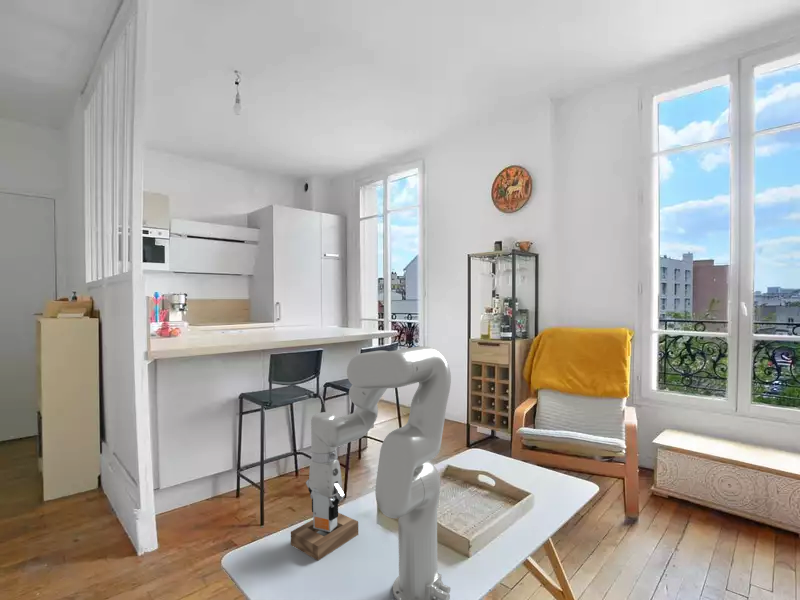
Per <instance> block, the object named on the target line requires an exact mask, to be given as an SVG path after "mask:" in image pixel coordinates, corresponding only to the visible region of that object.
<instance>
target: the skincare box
mask: <svg viewBox="0 0 800 600" xmlns="http://www.w3.org/2000/svg"><path fill="white" fill-rule="evenodd" d="M332 494H334V492H333V493H332ZM332 499H333V501H334V500H335V499H334V497H332ZM329 507H330V503H329V500H328V497H326V496H323V495H321V494H320V493H319V491H318V490H317V489H313V512H312V516H313V517H312V520H313V528H314V529H319V530H323V531H327V532H331V531H332V530H333V529H334V528H335V527H336V526H337V518H335V519H333V520H331V521H330V520H329Z"/></svg>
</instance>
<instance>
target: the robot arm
mask: <svg viewBox="0 0 800 600" xmlns="http://www.w3.org/2000/svg"><path fill="white" fill-rule="evenodd" d="M346 375H347V379H348V381H349V383H350V384H351V386H350V387H349V389H348V397H349V398H350V399H349V400H350V401H351V402H352V403H353V405H355V406H356V408H355V410H354V411H353V412H352V413H350V414H346V415H342V416H339V417H337V416H336V414H335V413H333V412H328V411H323V412H318V413H315V414H313V415H312V417H311V419H310V432H311V433H310V436H311V437H310V438H311V439H310V441H311V444H310V445H311V447H310V449H311V450H310V451H311V453H310V454H311V459H310V463H309V471H308V479H307V480H306V481H305V485H306V487H307V489H308V492H309V494H310V495H309V496H310V497H309V498H310V499H311V512H312V513H313V489H317V490H318V491H319V493H320V494H321V495H323V496H326V497H328V500H329V503H330V507H329V520H330V521H331V520H333V519H335V518H337V517H338V513H339V504H340V503H341V502H343V500H344V498H345V496H346V495H345V493H344V491H343V481H342V480H343V479H342V470H341V465H340V461H339V460H340V459H338V457H339V456H338V447H341V446H343V445H347V444H348V443H351V442H355V441H357V440H359V439H362V438H363V437H364V436H365V435H366V434H367V433H369V431H370V430H371V428H373V425H374V424H375V422H376V421H377V418H378V413H379V405H378V404H379V401H380V400H381V399H382V397H383V395H384V394H385V392H386V391H387V389H396V388H401V387H406V386H411V385H412V384H417V383H418V387H417V389H416V390H415V393H414V395H413V397H412V400H411V403H410V407H409V409H410V411H409V414H408V415H409V416H408V421H407V423H406V424H405V425H404V426H401V427H398V428H397V429H394V430H392V431H391V432H389V433H388V434H387V435H386V436H385V438H384V440H383V442H382V444H381V446H380V450H379V457H378V464H377V465H378V466H377V472H376V480H375V481H376V482H375V489H374V490H375V492H374V493H375V501H376V503H377V507H378V509H379V510H380V512H381V513H382V514H383V516H385V517H388V518H391V519H398V527H397V528H398V532H397V533H398V534H397V535H398V540H397V541H398V576H397V577H396V578H395V580H394V581H393V585H392V593H393V597H394V598H395V600H451V595H450V593H451V587H450V586H448V585H446V584H445V583H444V582H443V581H442V574H441V573H439V572H438V507H439V499H440V493H441V477H440V473H439V471H438V469H437V467H436V465H434V464H433V463H432V462H430V461H432V460H434V459H435V458H436V457H437V456H438V455H439V453H440V451H441V447H442V439H443V433H444V426H445V421H446V420H445V419H446V411H447V405H448V400H449V396H450V390H451V386H452V374H451V369H450V366H449V364H448V361H447V360H446V358H445V357H444V355H443V354H442V353H441V352H440V351H438V350H437V349H436V348H434V347H430V346H424V345H423V346H413V347H408V348H403V349H396V350H389V351H388V350H375V351H374V350H373V351H367V352H362V353H357V354H356V355H354V356H352V358H350V360H349V362H348V364H347V368H346ZM333 492H334V494H332V493H333ZM332 497H334V499H335V500H334V501H333V499H332Z"/></svg>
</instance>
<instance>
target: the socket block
mask: <svg viewBox="0 0 800 600" xmlns="http://www.w3.org/2000/svg"><path fill="white" fill-rule="evenodd" d="M356 536H359V520H356V519H353V518H352V517H349V516H347V515H344V514H343V513H340V512H338V517H337V526H336V527H335V528H334V529H333V530H332V531H331V532H327V531H323V530H319V529H314V528H313V519H312V520H310V521H308V522H306V523H304V524H303V525H300V526H299V527H297V528H295V529H293V530H291V531H290V546H291V545H292V546H291V547H293V546H294V547H293V548H295V549H297V550H299V551H300V552H302V553H304V554H305V555H308V556H309V557H310V558H312V559H314V560H315V561H320V560H321V559H324V557H326V556H328V555H330V554H331V553H333V552H334V551H336V550H337V549H338V548H340V547H342V546H343V545H344V544H346V543H348V542H349V541H351V540H352V539H354V538H356Z"/></svg>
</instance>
